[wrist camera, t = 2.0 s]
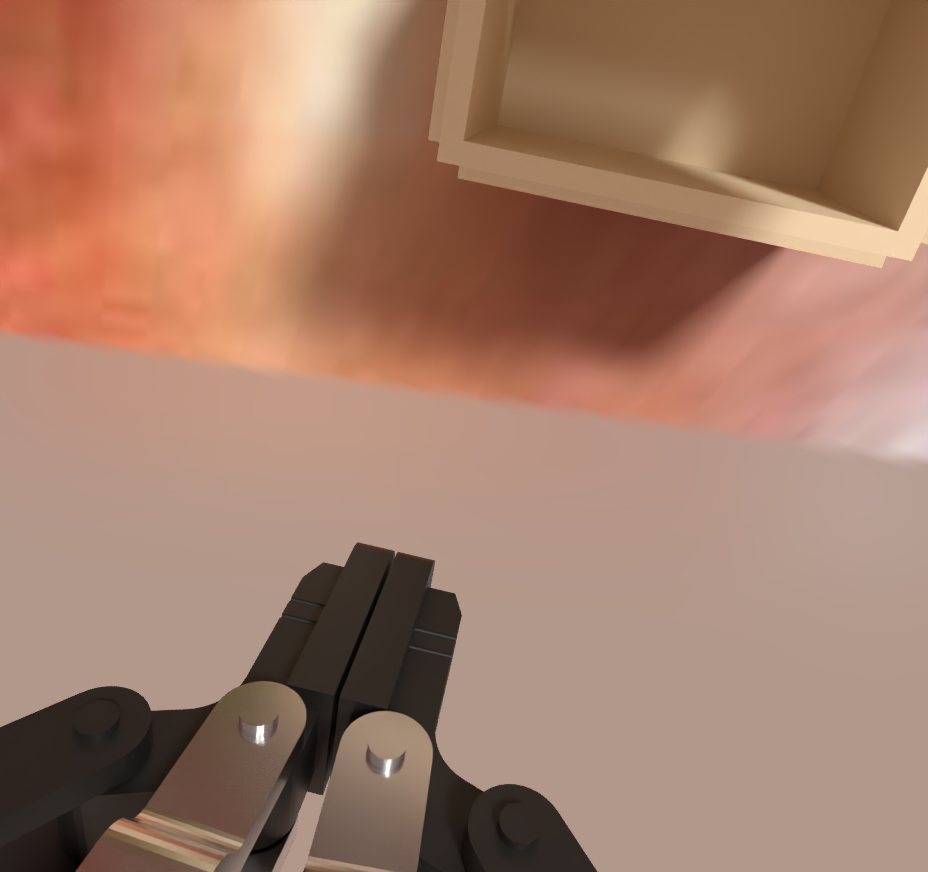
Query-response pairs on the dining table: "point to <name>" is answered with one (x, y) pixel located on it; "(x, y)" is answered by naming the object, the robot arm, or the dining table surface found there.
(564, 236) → the dining table surface
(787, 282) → the dining table surface
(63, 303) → the dining table surface
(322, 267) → the dining table surface
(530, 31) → the carton
